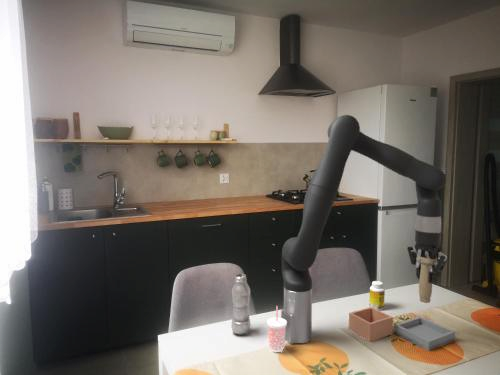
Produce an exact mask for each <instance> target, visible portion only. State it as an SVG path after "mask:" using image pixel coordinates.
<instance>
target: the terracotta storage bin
mask: <svg viewBox="0 0 500 375" xmlns="http://www.w3.org/2000/svg"><path fill="white" fill-rule="evenodd" d="M393 327H394V316H392V315H390V314H388V313H385V312H383V311H382V310H377V309H375V308H373V307H370V306H369V307H365V308H361V309H358V310H354V311H351V312H349V313H348V330H349V329H350V330H351V332H352V331H353V332H352V333H354V334H355V333H356V334H355V335H357V334H358V335H357V336H359V337H360V336H361V338H362V337H363V338H362V339H364V338H365V339H366V341H367V342H368V343H371V342H374V341H377V340H380V339H383V338H385V336H386V337H388V335H389V336H391V335H393V334H394V333H393V332H394V331H393V329H394V328H393ZM350 330H349V331H350ZM382 337H383V338H382ZM365 339H364V340H365ZM373 340H374V341H373ZM370 341H371V342H370Z"/></svg>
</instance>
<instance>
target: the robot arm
mask: <svg viewBox="0 0 500 375" xmlns="http://www.w3.org/2000/svg"><path fill="white" fill-rule="evenodd" d="M360 127H361V126H360V122H359V121H358V119H357V118H355V117H354V116H353V115H350V114H344V115H340V116H338V117H336V118H335V119H333V121H332V122H331V123H330V125H328V128H327V138H328V141H327V144H326V147H325V150H324V153H323V155H322V157H321V160H320V161H319V164H318V165H317V167H316V169H315V171H314V173H313V175H312V177H311V179H310V181H309V184H308V188H307V189H306V193H305V195H304V200H303V210H302V222H301V226H300V229H299V232H298V235H297V236H295V237H293V236H292V237H290V238H288V239H287V240H286V241H285V242H284V244H283V246H282V248H281V249H282V250H281V274H282V276H281V277H282V280H283V308H281V309H280V310H281V311H280V313H281V314H280V315H281V316H280V318H283V319H285V320H286V321H287V326H286V330H285V341H287V343H289V344H290V343H291V344H290V345H293V343H303V344H306V343H307V344H308V343H309V342H310V341H311V340H312V333H313V332H312V329H313V328H312V325H313V324H312V321H313V319H312V318H313V317H312V316H313V315H312V314H313V312H312V311H313V308H312V307H313V280H312V277H311V274H310V270H309V269H310V268H311V267H312V266H313V265H314V263H315V261H316V260H317V256H318V252H319V251H318V250H319V247H320V243H321V239H322V235H323V231H324V230H325V226H326V224H327V221H328V219H329V215H330V213H331V210H332V208H333V205H334V203H335V199H336V197H337V195H338V191H339V189H340V184H341V181H342V178H343V174H344V171H345V168H346V165H347V164H346V163H347V161H348V159H349V156H350V154H351V152H355V153H357V154H360V155H361V156H364V157H367V158H369V159H371V160H372V161H375V162H376V163H378V164H380V165H381V166H383V167H385V168H386V169H389V170H391V171H392V172H394V173H395V174H398V175H400V176H402V177H403V178H408V179H410V180H412V181H414V183H415V192H416V197H417V198H416V199H417V205H416V218H415V230H414V231H415V233H414V242H415V244H414V245H411V246H407V252H408V256H409V260H410V263H411V265H413V266H415V267H416V269H415V271H416V272H415V277H416V278H417V280H420V271H421V263H420V262H419V261H418V256H419V257H424V258H426V259H429V260H431V259H436V258H437V263H435V264H428V265H429V271H430V272H429V279H428V282H429V283H432V284H434V283H435V282H436V280H437V273H438V272H441V271H442V272H443V270H444V268H445V266H446V264H447V262H448V259H449V255H448V254H444V253H443V252H442V251H441V249H440V246H441V242H442V200H441V199H440V197H439V194H438V192H439V191H438V190H440V189H442V188H443V187H444V186H445V185H446V183H447V176H446V174H445V173H444V171H443V170H442V169H440V168H439V167H437V166H434V165H432V164H430V163H428V162H426V161H422V160H420V159H418V158H416V157H414V156H413V155H412V154H410V153H408V152H406V151H404V150H402V149H400V148H399V147H396V146H393V145H391V144H388V143H385V142H382V141H379V140H377V139H374V138H372V137H370V136H368V135H367V134H365V133H363V132H362V131H361V128H360Z"/></svg>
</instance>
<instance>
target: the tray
mask: <svg viewBox="0 0 500 375" xmlns="http://www.w3.org/2000/svg"><path fill="white" fill-rule="evenodd" d="M393 327H394V328H393V329H394V331H393V332H394V333H393V334H395V335H397V336H399V337H401V338H403V339H404V340H407V341H408V342H411V343H412V344H413V345H414V344H415V345H416V346H418V347H420V348H421V349H423V350H426V351H427V352H429V351H432V350H435V349H437V348H441V347H443V346H445V345H448V344H449V343H453V342H455V340H456V338H455V336H456V332H455V331H454V330H452V329H450V328H447V327H444V326H443V325H440V324H439V323H436V322H434V321H431V320H429V319H427V318H424V317H422V316H417V317H414V318H411V319H408V320H405V321H401V322H398V323H395V324H393Z"/></svg>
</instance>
